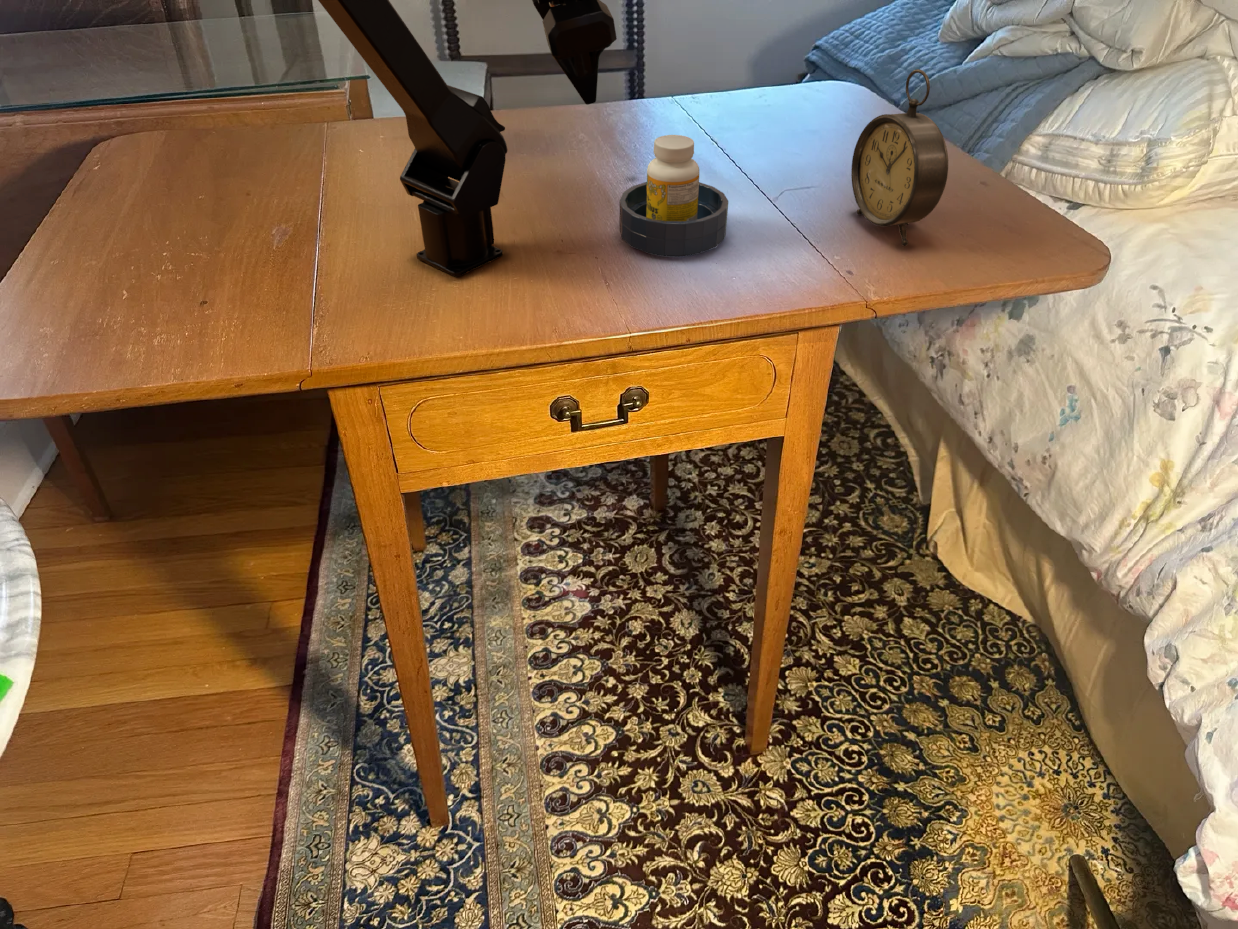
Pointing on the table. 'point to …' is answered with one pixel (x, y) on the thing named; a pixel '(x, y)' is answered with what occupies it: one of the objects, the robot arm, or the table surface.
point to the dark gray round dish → (673, 224)
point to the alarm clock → (899, 167)
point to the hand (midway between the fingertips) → (582, 83)
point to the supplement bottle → (673, 180)
